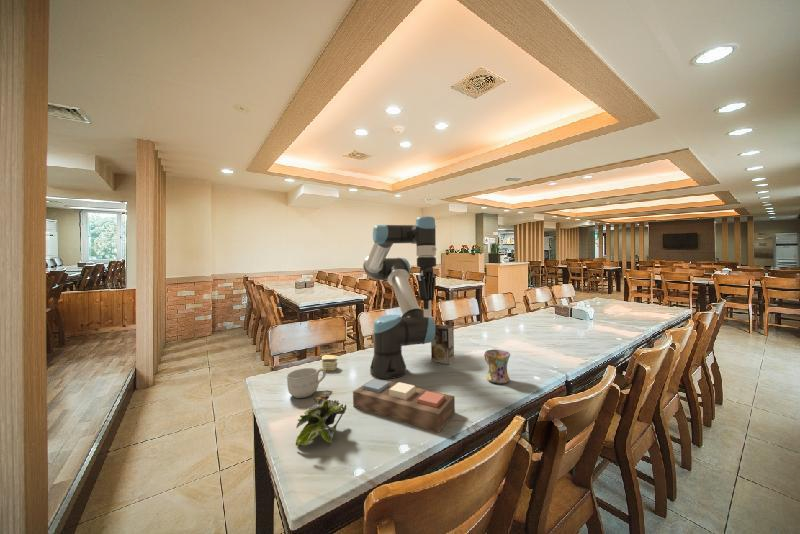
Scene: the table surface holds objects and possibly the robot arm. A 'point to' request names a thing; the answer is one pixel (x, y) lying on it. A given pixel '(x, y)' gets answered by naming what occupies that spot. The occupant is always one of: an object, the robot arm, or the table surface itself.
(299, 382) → the teacup
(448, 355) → the coffee box
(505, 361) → the mug
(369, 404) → the key panel
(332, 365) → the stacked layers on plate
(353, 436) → the table surface
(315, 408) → the green leafy cluster
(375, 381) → the key blue
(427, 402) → the key red
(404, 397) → the key cream
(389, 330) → the robot arm
